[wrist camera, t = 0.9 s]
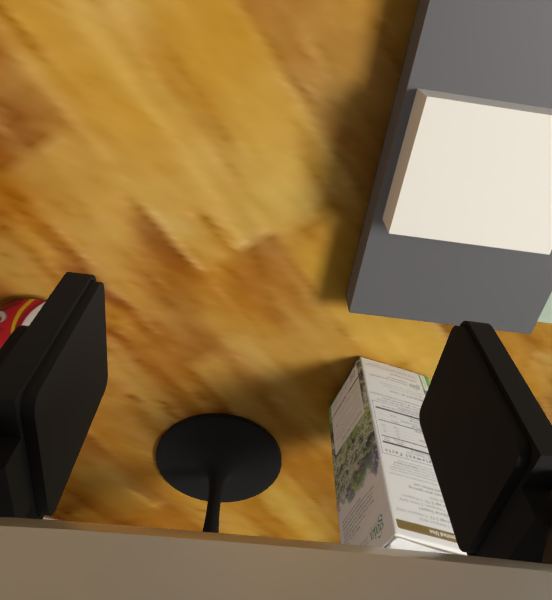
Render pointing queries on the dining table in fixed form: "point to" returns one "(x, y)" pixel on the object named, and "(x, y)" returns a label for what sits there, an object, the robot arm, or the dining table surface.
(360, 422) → the syrup box
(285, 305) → the dining table surface
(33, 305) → the soda can
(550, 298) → the mat
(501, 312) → the block
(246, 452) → the wine glass
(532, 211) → the tile
